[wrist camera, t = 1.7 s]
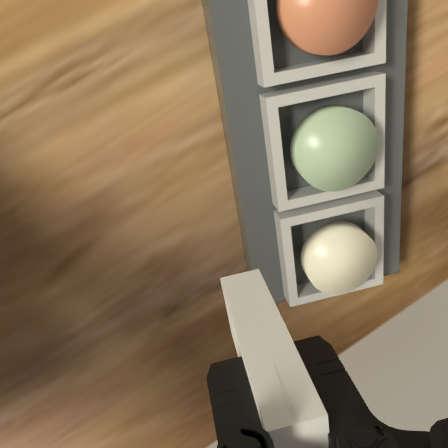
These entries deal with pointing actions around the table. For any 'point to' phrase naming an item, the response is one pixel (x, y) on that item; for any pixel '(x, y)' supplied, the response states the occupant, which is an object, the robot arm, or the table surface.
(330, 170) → the sage button
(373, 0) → the terracotta button
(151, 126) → the table surface
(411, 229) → the table surface
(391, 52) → the button panel
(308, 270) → the cream button
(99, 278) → the table surface
